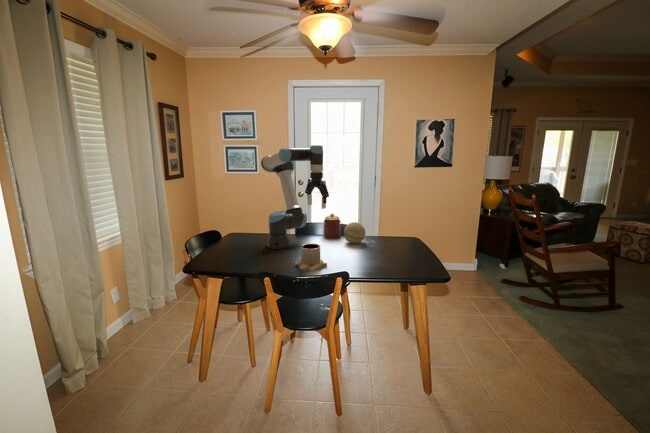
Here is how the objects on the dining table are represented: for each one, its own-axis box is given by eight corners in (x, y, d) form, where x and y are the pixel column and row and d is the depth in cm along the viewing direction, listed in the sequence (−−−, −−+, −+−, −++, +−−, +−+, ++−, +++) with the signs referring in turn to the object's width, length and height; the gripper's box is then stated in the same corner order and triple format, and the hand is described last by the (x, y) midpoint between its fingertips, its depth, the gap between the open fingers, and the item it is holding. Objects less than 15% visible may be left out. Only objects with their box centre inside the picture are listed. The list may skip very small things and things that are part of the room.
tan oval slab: (293, 270, 168) (293, 266, 168) (297, 261, 182) (297, 257, 181) (326, 271, 167) (326, 267, 167) (327, 262, 181) (327, 258, 180)
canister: (322, 238, 228) (322, 215, 224) (325, 233, 241) (325, 211, 237) (339, 239, 226) (339, 215, 222) (341, 234, 238) (341, 212, 235)
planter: (319, 258, 180) (319, 242, 178) (321, 265, 169) (320, 248, 167) (301, 259, 179) (300, 243, 177) (301, 266, 168) (300, 249, 166)
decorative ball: (350, 238, 227) (351, 219, 223) (368, 242, 218) (369, 221, 215) (339, 243, 215) (339, 223, 212) (358, 247, 206) (358, 226, 203)
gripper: (299, 170, 189) (299, 204, 194) (325, 173, 171) (325, 210, 176) (308, 169, 194) (309, 202, 199) (335, 172, 176) (334, 209, 181)
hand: (316, 206), depth 187 cm, fingers open, 13 cm apart
